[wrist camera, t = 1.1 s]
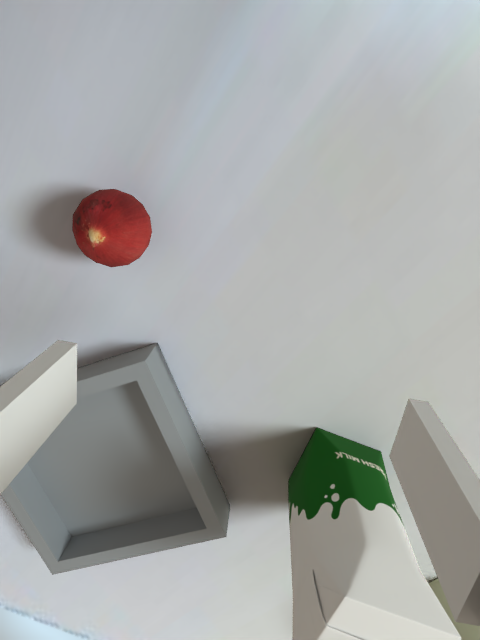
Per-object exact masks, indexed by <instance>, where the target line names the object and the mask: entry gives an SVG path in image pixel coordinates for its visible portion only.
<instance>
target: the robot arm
mask: <svg viewBox="0 0 480 640" xmlns="http://www.w3.org/2000/svg"><path fill="white" fill-rule="evenodd" d="M76 403H77V343H72V342H66V341H60V340H58V341H57V342H55V343H54V344H53V345H52V346H50V347H49V348H48V349H47V350H45V351H44V352H43V353H42V354H40V355H39V356H38V357H37V358H35V359H34V360H33V361H32V362H30V363H29V364H28V365H27V366H25V367H24V368H23V369H22V370H20V371H19V372H18V373H17V374H16V375H14V376H13V377H12V378H11V379H9V380H8V381H7V382H6V383H4V384H3V385H2V386H1V387H0V495H1V493H2V492H3V491H4V490H5V489H6V487H7V486H8V485H9V484H10V483H11V481H12V480H13V479H14V478H15V477H16V475H17V474H18V473H19V472H20V471H21V469H22V468H23V467H24V466H25V465H26V463H27V462H28V461H29V460H30V459H31V457H32V456H33V455H34V454H35V453H36V451H37V450H38V449H39V448H40V447H41V445H42V444H43V443H44V442H45V441H46V439H47V438H48V437H49V436H50V435H51V433H52V432H53V431H54V430H55V429H56V427H57V426H58V425H59V424H60V423H61V421H62V420H63V419H64V418H65V417H66V415H67V414H68V413H69V412H70V411H71V409H72V408H73V407H74V406H75V405H76ZM390 459H391V461H392V464H393V466H394V469H395V471H396V474H397V476H398V479H399V481H400V484H401V486H402V489H403V491H404V494H405V497H406V499H407V502H408V504H409V507H410V509H411V512H412V514H413V517H414V519H415V522H416V524H417V527H418V529H419V532H420V534H421V537H422V539H423V542H424V544H425V547H426V549H427V552H428V554H429V557H430V559H431V562H432V564H433V567H434V569H435V572H436V574H437V577H438V579H439V582H440V584H441V587H442V589H443V592H444V594H445V597H446V599H447V602H448V605H449V607H450V610H451V612H452V615H453V617H454V620H455V622H459V623H464V624H470V625H476V626H480V480H479V478H478V477H477V475H476V474H475V472H474V471H473V469H472V468H471V466H470V465H469V463H468V461H467V460H466V458H465V457H464V455H463V454H462V452H461V451H460V449H459V448H458V446H457V445H456V443H455V442H454V440H453V439H452V437H451V436H450V434H449V432H448V431H447V429H446V428H445V426H444V425H443V423H442V422H441V420H440V419H439V417H438V416H437V414H436V413H435V411H434V410H433V408H432V407H431V405H430V403H429V402H426V401H420V400H414V399H408V402H407V405H406V408H405V411H404V414H403V417H402V420H401V423H400V426H399V429H398V432H397V435H396V438H395V441H394V444H393V447H392V450H391V453H390Z"/></svg>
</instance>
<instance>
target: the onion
mask: <svg viewBox="0 0 480 640" xmlns="http://www.w3.org/2000/svg"><path fill="white" fill-rule="evenodd" d="M73 233H74V236H75V239H76V243H77V245H78V246H79V248H80V249H81V251H82V252H83V253H84V255H86V256H87V257H89V258H90V259H92V260H93V261H95V262H96V263H100V264H103V265H106V266H109V267H117V266H123V265H129V264H130V263H132V262H133V261H135V260H137V259H138V258H140V256H141V255H142V254H143V252H144V251H145V250H146V248H147V247H148V245H149V242H150V238H151V233H152V229H151V222H150V216H149V215H148V213H147V211H146V210H145V208H144V206H143V204H141V203H140V202H139V201H138V200H137V199H135V198H134V197H133V196H132V195H130V194H127V193H124V192H121V191H119V190H116V189H108V190H99V191H96V192H94V193H93V194H91V195H89V196H88V197H86V198H84V199H83V200H82V201H81V203H80V204H79V206H78V207H77V209H76V211H75V212H74V214H73Z"/></svg>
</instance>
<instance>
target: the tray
mask: <svg viewBox="0 0 480 640" xmlns="http://www.w3.org/2000/svg"><path fill="white" fill-rule="evenodd" d="M1 495H2V497H3V498H4V500H5V501H6V503H7V504H8V506H9V508H10V509H11V511H12V512H13V514H14V515H15V517H16V519H17V520H18V522H19V523H20V525H21V526H22V528H23V530H24V531H25V533H26V534H27V536H28V537H29V539H30V540H31V542H32V544H33V545H34V547H35V548H36V550H37V551H38V553H39V555H40V556H41V558H42V559H43V561H44V562H45V564H46V565H47V567H48V569H49V570H50V572H51V573H52V575H53V574H58V573H62V572H67V571H71V570H76V569H81V568H85V567H90V566H94V565H99V564H104V563H108V562H113V561H117V560H122V559H127V558H131V557H136V556H140V555H145V554H150V553H154V552H159V551H163V550H168V549H173V548H177V547H182V546H186V545H191V544H196V543H200V542H205V541H209V540H214V539H219V538H223V537H226V534H227V527H228V519H229V511H230V505H229V503H228V501H227V498H226V496H225V494H224V492H223V489H222V487H221V485H220V483H219V480H218V478H217V476H216V474H215V471H214V469H213V467H212V465H211V462H210V460H209V458H208V456H207V453H206V451H205V449H204V447H203V444H202V442H201V440H200V437H199V435H198V433H197V431H196V428H195V426H194V424H193V422H192V419H191V417H190V415H189V413H188V410H187V408H186V406H185V404H184V401H183V399H182V397H181V395H180V392H179V390H178V388H177V386H176V383H175V381H174V379H173V377H172V374H171V372H170V370H169V368H168V365H167V363H166V361H165V359H164V356H163V354H162V352H161V350H160V347H159V345H158V343H156V344H153V345H150V346H146V347H143V348H140V349H137V350H134V351H131V352H127V353H124V354H121V355H118V356H115V357H112V358H108V359H105V360H102V361H99V362H96V363H93V364H89V365H86V366H83V367H80V368H77V403H76V405H75V406H74V407H73V408H72V409H71V411H70V412H69V413H68V414H67V415H66V417H65V418H64V419H63V420H62V421H61V423H60V424H59V425H58V426H57V427H56V429H55V430H54V431H53V432H52V433H51V435H50V436H49V437H48V438H47V439H46V441H45V442H44V443H43V444H42V445H41V447H40V448H39V449H38V450H37V451H36V453H35V454H34V455H33V456H32V457H31V459H30V460H29V461H28V462H27V463H26V465H25V466H24V467H23V468H22V469H21V471H20V472H19V473H18V474H17V475H16V477H15V478H14V479H13V480H12V481H11V483H10V484H9V485H8V486H7V487H6V489H5V490H4V491H3V492H2V493H1Z"/></svg>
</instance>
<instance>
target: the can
mask: <svg viewBox="0 0 480 640" xmlns="http://www.w3.org/2000/svg"><path fill="white" fill-rule="evenodd" d="M428 584H429V585H430V587H431V589H432V590H433V592H434V594H435V595H436V597H437V599H438V600H439V602H440V604H441V605H442V607H443V608H444V610H445V612H446V613H447V615H448V617H449V618H450V620H451V622H452V623H453V625H454V626H455V628H456V630H457V631H458V633H459V635H460V636H461V640H480V626H476V625H470V624H464V623H459V622H455V620H454V617H453V615H452V612H451V610H450V607H449V605H448V602H447V599H446V597H445V594H444V592H443V589H442V587H441V584H440V582H439V579H436V580H433V581H431V582H430V583H428Z"/></svg>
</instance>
